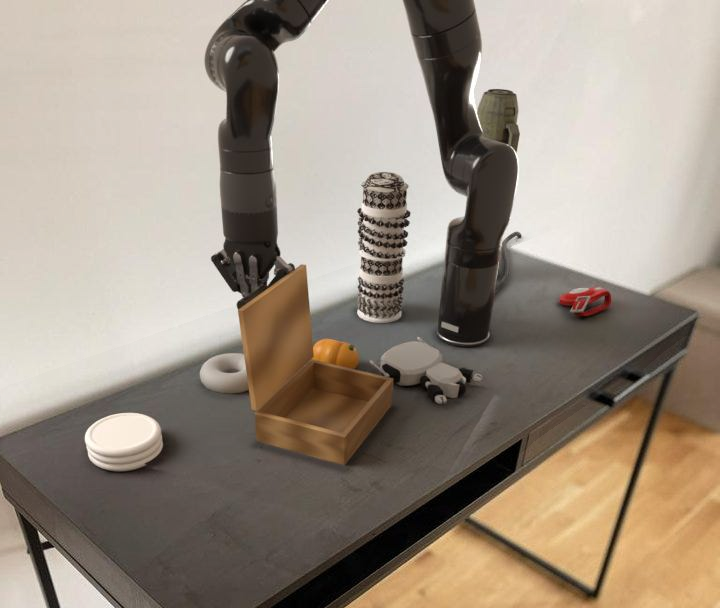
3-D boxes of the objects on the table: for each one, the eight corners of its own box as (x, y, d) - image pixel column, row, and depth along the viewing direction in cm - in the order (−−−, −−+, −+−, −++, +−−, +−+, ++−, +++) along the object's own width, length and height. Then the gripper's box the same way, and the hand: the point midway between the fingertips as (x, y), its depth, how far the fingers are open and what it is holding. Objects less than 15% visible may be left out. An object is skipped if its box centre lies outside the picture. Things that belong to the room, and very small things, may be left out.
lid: (306, 264, 108) (276, 261, 110) (243, 310, 95) (210, 306, 97) (313, 356, 116) (286, 352, 118) (256, 410, 103) (226, 405, 105)
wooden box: (391, 409, 116) (393, 378, 112) (344, 469, 103) (344, 437, 99) (311, 389, 120) (311, 359, 117) (256, 445, 107) (254, 413, 104)
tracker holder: (550, 291, 151) (598, 278, 151) (553, 313, 153) (600, 299, 153) (572, 302, 140) (624, 288, 140) (575, 325, 142) (627, 311, 142)
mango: (306, 372, 124) (305, 342, 121) (319, 359, 128) (319, 330, 125) (350, 383, 122) (351, 353, 118) (363, 369, 125) (364, 339, 122)
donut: (191, 395, 117) (253, 402, 116) (188, 375, 115) (251, 382, 114) (214, 365, 125) (272, 371, 124) (211, 346, 123) (270, 352, 122)
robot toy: (484, 392, 122) (412, 355, 129) (489, 368, 119) (416, 331, 126) (437, 421, 115) (364, 380, 122) (442, 396, 112) (367, 355, 119)
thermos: (482, 287, 155) (508, 99, 134) (442, 269, 162) (461, 88, 141) (512, 278, 159) (541, 94, 138) (472, 261, 167) (493, 84, 146)
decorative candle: (396, 327, 139) (405, 186, 124) (348, 319, 141) (351, 179, 126) (409, 307, 146) (419, 172, 131) (363, 300, 148) (367, 166, 133)
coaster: (74, 453, 104) (68, 431, 102) (134, 424, 110) (130, 403, 108) (118, 482, 99) (113, 460, 97) (178, 450, 105) (175, 429, 103)
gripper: (305, 201, 103) (306, 319, 114) (221, 188, 107) (230, 302, 118) (278, 217, 98) (283, 339, 108) (191, 202, 102) (204, 321, 112)
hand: (255, 320), depth 113 cm, fingers closed
